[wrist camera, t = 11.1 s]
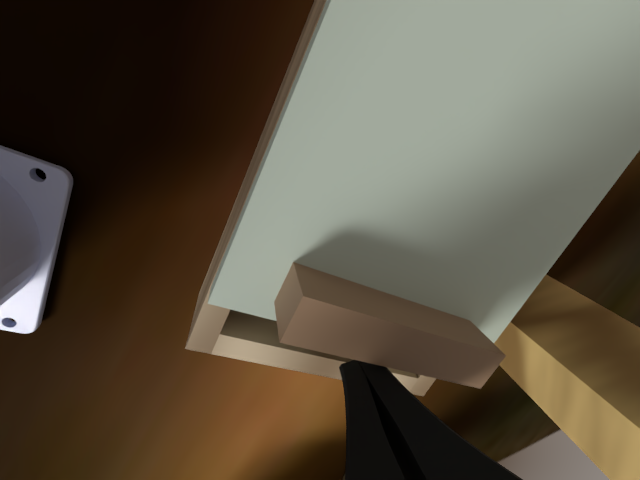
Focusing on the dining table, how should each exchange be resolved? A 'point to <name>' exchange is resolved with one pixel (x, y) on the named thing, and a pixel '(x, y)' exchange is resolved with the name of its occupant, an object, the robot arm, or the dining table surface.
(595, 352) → the wooden block
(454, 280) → the lid
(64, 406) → the dining table surface
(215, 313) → the toolbox
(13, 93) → the dining table surface
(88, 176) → the dining table surface
